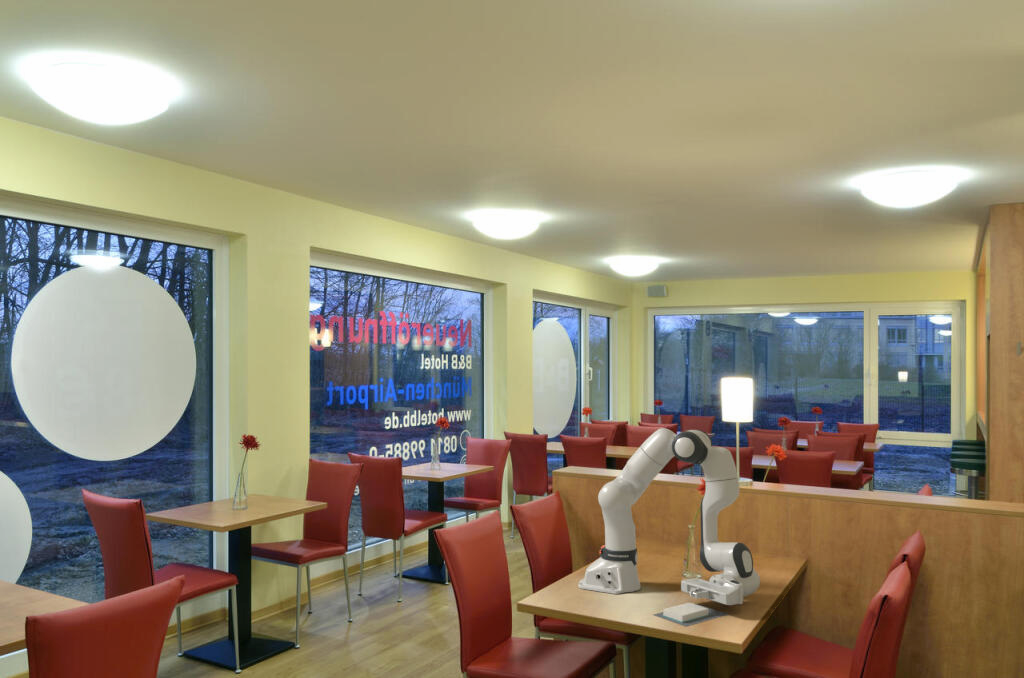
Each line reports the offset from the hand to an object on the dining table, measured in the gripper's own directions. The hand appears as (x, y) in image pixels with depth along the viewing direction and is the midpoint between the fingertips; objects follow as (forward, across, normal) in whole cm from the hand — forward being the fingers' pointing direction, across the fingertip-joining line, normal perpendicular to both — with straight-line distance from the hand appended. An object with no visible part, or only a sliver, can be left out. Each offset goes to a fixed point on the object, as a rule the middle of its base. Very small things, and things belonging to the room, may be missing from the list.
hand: (693, 595), depth 243 cm
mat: (+1, 0, +6) cm, 7 cm away
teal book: (-3, 0, +5) cm, 5 cm away
